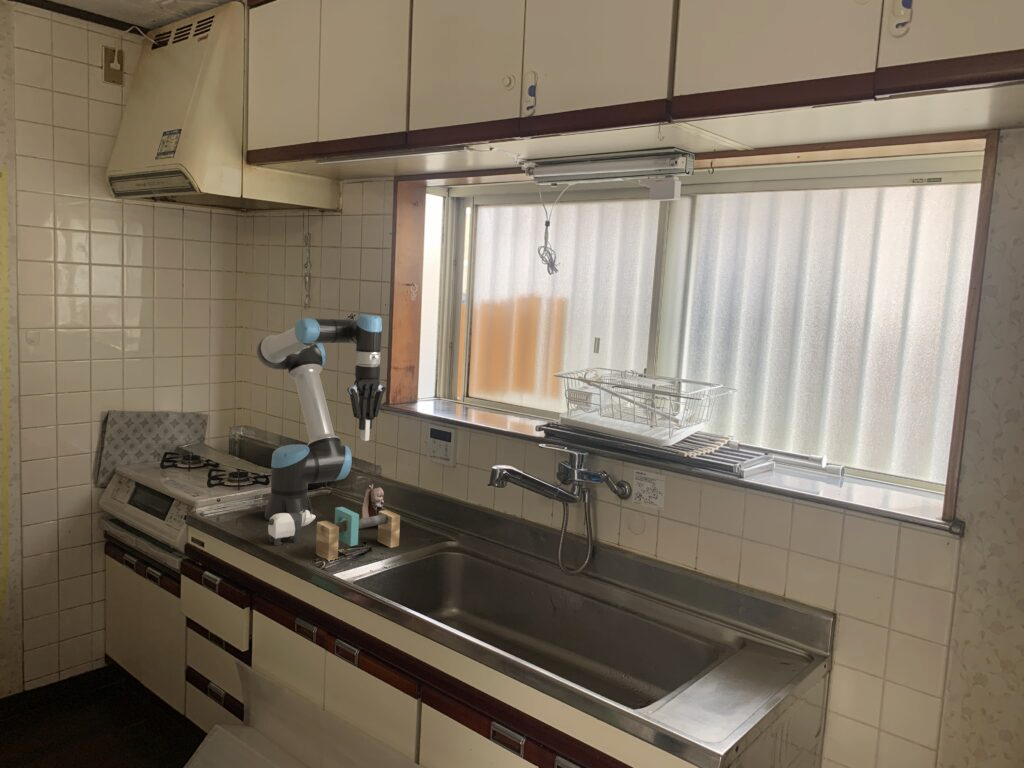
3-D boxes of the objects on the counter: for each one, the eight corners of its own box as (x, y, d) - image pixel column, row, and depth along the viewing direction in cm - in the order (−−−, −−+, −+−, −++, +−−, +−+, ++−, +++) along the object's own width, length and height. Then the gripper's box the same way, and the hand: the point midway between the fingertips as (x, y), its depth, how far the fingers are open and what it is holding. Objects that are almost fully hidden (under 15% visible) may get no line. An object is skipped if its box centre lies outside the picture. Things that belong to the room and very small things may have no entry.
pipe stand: (328, 561, 218) (329, 527, 217) (315, 554, 223) (316, 521, 222) (398, 545, 235) (400, 514, 233) (385, 539, 240) (387, 508, 238)
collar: (350, 546, 221) (351, 515, 220) (334, 537, 228) (335, 507, 227) (357, 544, 223) (359, 514, 222) (341, 536, 229) (342, 506, 228)
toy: (386, 530, 246) (375, 485, 245) (362, 535, 248) (350, 490, 247) (396, 522, 255) (385, 478, 254) (373, 527, 257) (362, 483, 256)
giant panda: (272, 547, 227) (273, 515, 226) (264, 541, 231) (265, 510, 230) (318, 539, 236) (319, 508, 235) (310, 534, 240) (311, 504, 239)
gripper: (356, 367, 233) (353, 444, 236) (392, 366, 242) (388, 440, 245) (343, 364, 239) (340, 439, 241) (378, 363, 248) (375, 436, 250)
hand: (364, 439), depth 243 cm, fingers closed
